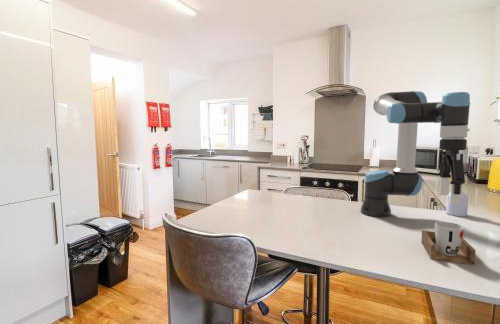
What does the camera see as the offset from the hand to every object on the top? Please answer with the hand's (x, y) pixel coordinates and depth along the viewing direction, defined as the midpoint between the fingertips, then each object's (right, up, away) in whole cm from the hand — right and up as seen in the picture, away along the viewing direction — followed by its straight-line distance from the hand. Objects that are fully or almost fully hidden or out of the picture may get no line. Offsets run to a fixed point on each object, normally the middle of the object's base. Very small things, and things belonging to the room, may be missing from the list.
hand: (449, 199), depth 95 cm
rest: (0, -20, +2) cm, 20 cm away
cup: (-1, -19, -1) cm, 19 cm away
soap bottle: (+41, -15, +50) cm, 66 cm away
